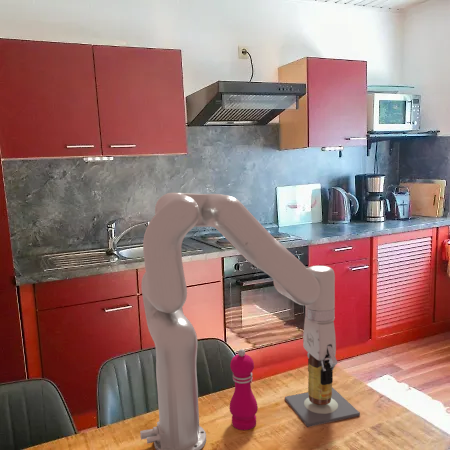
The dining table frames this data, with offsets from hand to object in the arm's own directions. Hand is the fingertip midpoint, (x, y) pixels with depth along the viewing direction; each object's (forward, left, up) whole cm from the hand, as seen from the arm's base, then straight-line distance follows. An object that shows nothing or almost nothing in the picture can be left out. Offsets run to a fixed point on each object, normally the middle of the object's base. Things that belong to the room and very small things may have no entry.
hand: (320, 377), depth 120 cm
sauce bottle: (0, 0, -7) cm, 7 cm away
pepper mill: (-22, 0, -9) cm, 24 cm away
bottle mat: (0, 0, -9) cm, 9 cm away
